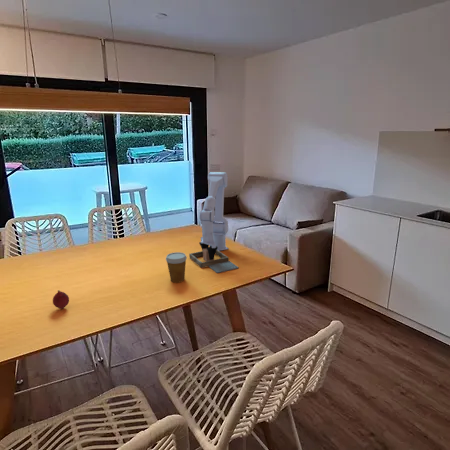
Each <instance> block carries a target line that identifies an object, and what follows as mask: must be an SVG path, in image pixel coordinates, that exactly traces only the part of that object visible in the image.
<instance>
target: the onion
mask: <svg viewBox="0 0 450 450" xmlns="http://www.w3.org/2000/svg"><path fill="white" fill-rule="evenodd" d="M69 302H70V297H69V295H68V294H67V293H65V292H64V291H62V290H60V289H58V290H57V293H55V295H54V296H53V297H52V305H53V306H54V307H55V308H58V309H61V310H63V309H64V308H66V307H67V306H68V304H69Z"/></svg>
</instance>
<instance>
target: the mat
mask: <svg viewBox="0 0 450 450" xmlns="http://www.w3.org/2000/svg"><path fill="white" fill-rule="evenodd" d="M208 268H209V269H210V270H212V271H213V272H215V273H216V274H220V273H221V274H222V273H225V272H228V271H229V272H230V271H233V270H238V269H239V266H237V265H236V264H234V263H233V262H232V261H227V262H222V263H218V264H213V265H209V266H208Z"/></svg>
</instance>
